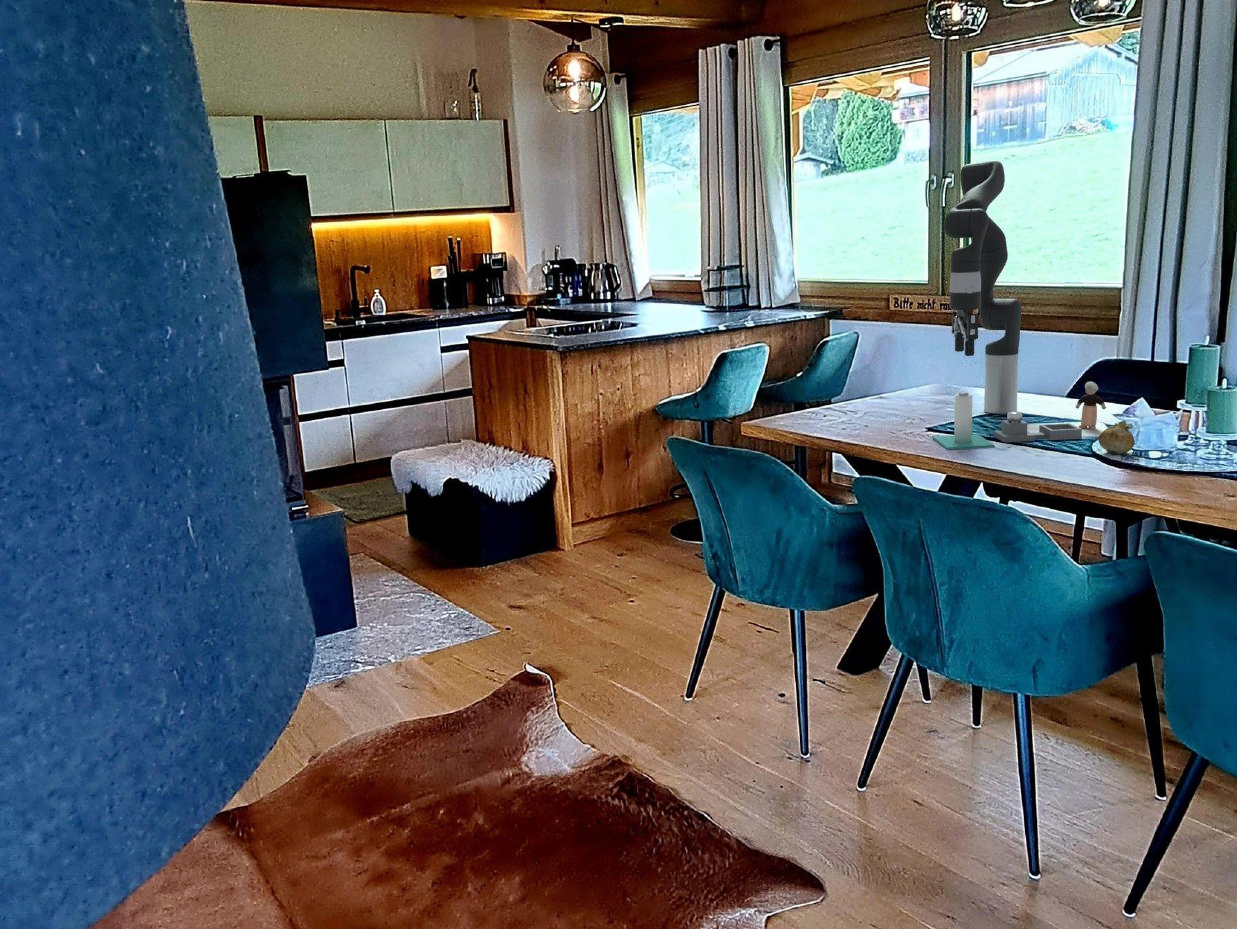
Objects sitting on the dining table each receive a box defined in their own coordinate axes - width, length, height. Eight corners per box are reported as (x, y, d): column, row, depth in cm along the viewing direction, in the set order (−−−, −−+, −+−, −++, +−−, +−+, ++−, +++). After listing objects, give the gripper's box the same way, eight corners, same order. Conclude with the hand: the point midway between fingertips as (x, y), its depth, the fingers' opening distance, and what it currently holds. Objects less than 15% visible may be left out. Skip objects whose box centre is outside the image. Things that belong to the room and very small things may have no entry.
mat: (932, 438, 287) (932, 436, 287) (977, 436, 287) (977, 434, 287) (947, 449, 273) (947, 447, 273) (994, 447, 273) (994, 444, 273)
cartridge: (952, 439, 282) (952, 392, 279) (968, 438, 282) (969, 391, 279) (957, 442, 278) (957, 395, 275) (974, 441, 278) (974, 394, 275)
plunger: (1005, 428, 283) (1005, 411, 282) (1018, 427, 283) (1019, 411, 282) (1009, 431, 279) (1010, 414, 278) (1023, 430, 279) (1024, 413, 278)
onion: (1097, 449, 265) (1099, 417, 263) (1133, 450, 262) (1135, 418, 260) (1098, 456, 258) (1099, 423, 256) (1135, 457, 255) (1136, 424, 253)
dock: (993, 436, 286) (994, 419, 285) (1069, 432, 285) (1070, 415, 284) (1003, 442, 278) (1004, 425, 277) (1081, 438, 277) (1082, 421, 276)
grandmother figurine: (1073, 429, 289) (1075, 382, 286) (1074, 426, 292) (1076, 380, 289) (1104, 430, 285) (1106, 383, 283) (1105, 427, 289) (1107, 380, 286)
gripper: (942, 288, 278) (941, 351, 282) (958, 292, 264) (957, 358, 268) (971, 287, 278) (970, 349, 282) (989, 291, 264) (988, 356, 268)
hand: (964, 353), depth 275 cm, fingers open, 8 cm apart
